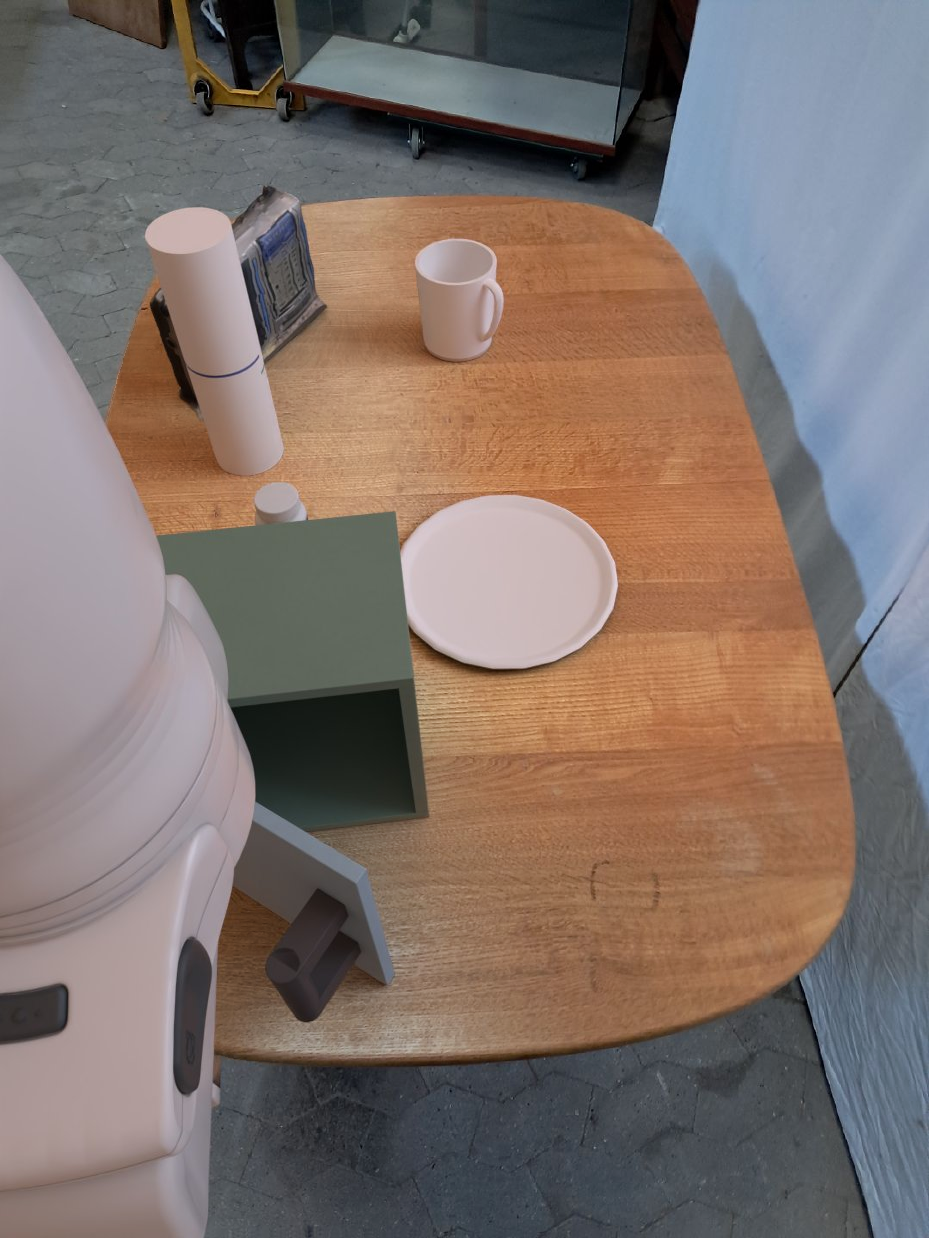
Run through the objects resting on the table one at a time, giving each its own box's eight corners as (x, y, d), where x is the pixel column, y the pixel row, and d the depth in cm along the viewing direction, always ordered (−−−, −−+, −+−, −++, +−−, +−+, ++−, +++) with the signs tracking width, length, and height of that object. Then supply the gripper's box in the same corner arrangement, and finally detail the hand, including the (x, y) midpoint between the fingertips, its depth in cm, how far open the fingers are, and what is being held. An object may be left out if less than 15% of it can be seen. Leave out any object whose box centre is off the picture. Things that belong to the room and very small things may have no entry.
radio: (199, 421, 99) (161, 301, 87) (147, 390, 102) (102, 271, 90) (341, 316, 110) (324, 197, 98) (289, 292, 113) (267, 174, 101)
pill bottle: (304, 582, 85) (289, 521, 78) (258, 571, 86) (239, 510, 79) (323, 546, 88) (310, 484, 81) (279, 535, 89) (262, 473, 82)
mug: (404, 344, 107) (397, 264, 98) (454, 309, 111) (452, 229, 102) (475, 383, 102) (475, 302, 94) (525, 345, 106) (528, 264, 98)
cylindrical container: (203, 465, 95) (127, 243, 75) (238, 422, 99) (176, 201, 79) (262, 483, 93) (201, 261, 73) (296, 439, 97) (247, 216, 77)
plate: (347, 600, 84) (345, 592, 83) (481, 472, 94) (481, 463, 93) (533, 717, 76) (533, 709, 75) (658, 564, 86) (660, 555, 85)
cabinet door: (341, 1060, 60) (291, 977, 45) (141, 921, 66) (34, 805, 50) (395, 973, 64) (366, 868, 48) (200, 848, 70) (117, 718, 54)
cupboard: (429, 817, 71) (413, 678, 55) (196, 845, 70) (111, 712, 54) (413, 669, 79) (395, 510, 63) (205, 692, 78) (133, 537, 62)
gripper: (16, 508, 29) (143, 723, 40) (-169, 1287, 17) (86, 1288, 28) (212, 488, 30) (285, 707, 41) (167, 1237, 18) (289, 1258, 29)
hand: (204, 949), depth 34 cm, fingers open, 8 cm apart
